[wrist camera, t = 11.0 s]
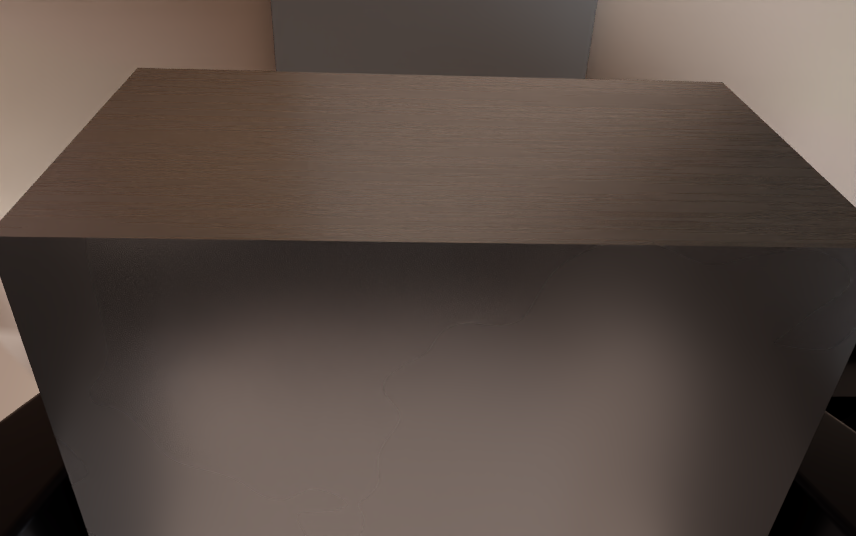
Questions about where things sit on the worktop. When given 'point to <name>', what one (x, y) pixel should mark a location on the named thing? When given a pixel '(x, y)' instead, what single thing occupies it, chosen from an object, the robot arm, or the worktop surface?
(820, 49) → the worktop surface
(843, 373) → the robot arm
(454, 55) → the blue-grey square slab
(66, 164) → the grey rectangular box
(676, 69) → the worktop surface
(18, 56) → the worktop surface
